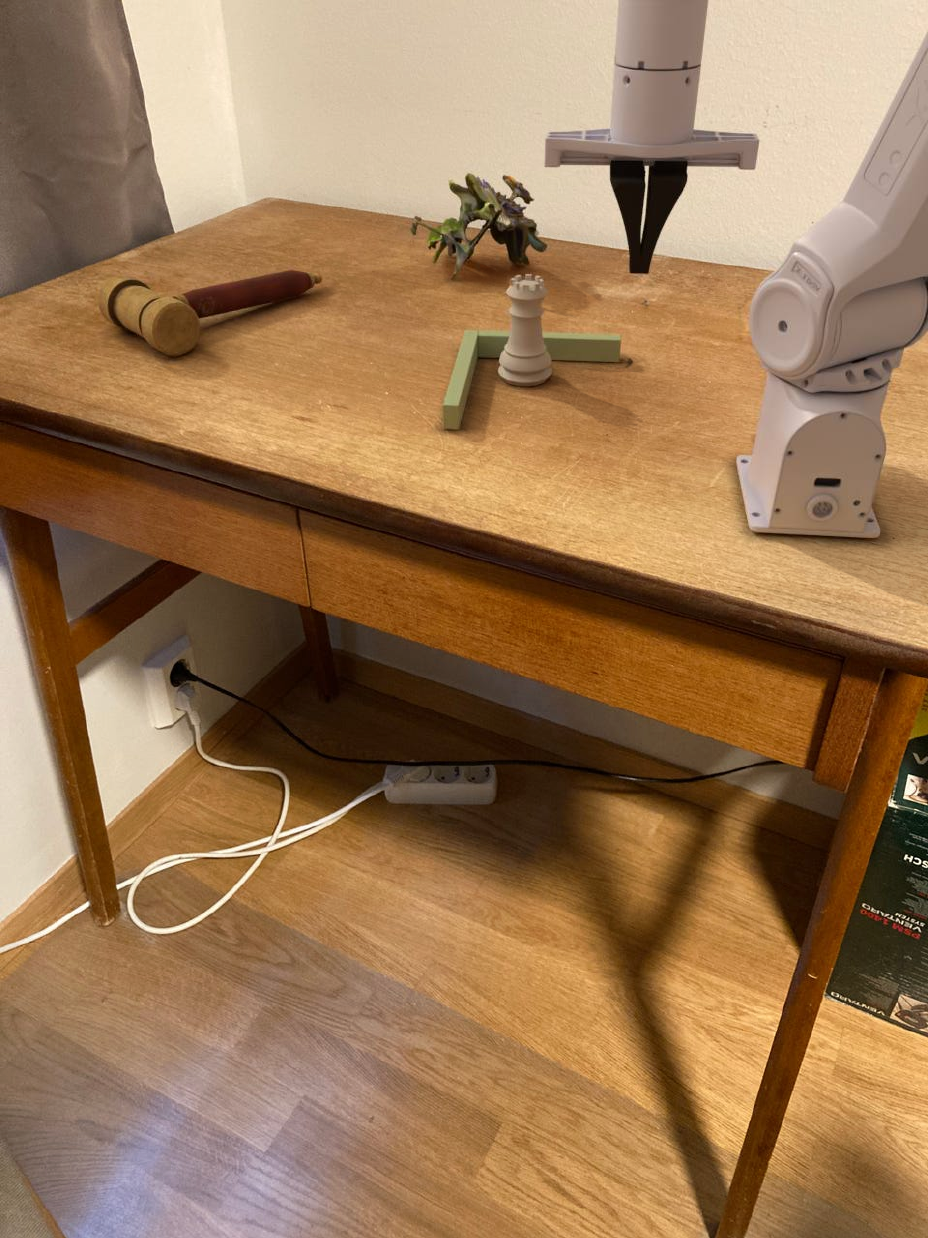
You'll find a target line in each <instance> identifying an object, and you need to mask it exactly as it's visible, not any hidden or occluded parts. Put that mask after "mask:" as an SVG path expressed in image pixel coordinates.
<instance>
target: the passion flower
mask: <svg viewBox="0 0 928 1238" xmlns="http://www.w3.org/2000/svg"><path fill="white" fill-rule="evenodd" d="M464 180H465V185H466V187H464V186H462V185H460V184H458V183H455V181H454V180H453V179H452V178H449V180H448V187H449V190H450V191H451V192H452V193H453V194H454V195H456V196H457V198H459V200H460V204H461V205H460V207H459V216H458V219H456V218H454V217H449V218H445V220H444V221H443V222H442V223H441V224H440V225H436V226H435V227H432V226H429V225H427V224H425V223H423V222H421V221H422V216H421V217H420V216H418V215H415V216H414V217H413V221H412V224H411V228H410V232H411V234H412V235H413V236H416V235H417V229H418V225H419V226H422V227H423V228H426V229H428V230H429V231H430V233H429V234H428V239H427V248H428V250H429V251H431V250H432V249H434V250H435V252H434V254H433V256H432V258H433V264H436V263H437V261H438V259H439V257H440V255H441V254H442V253H443V250H444V249H446V248H447V256H448V257H452V256H453V255H454V256H455V268H454V272H453V274H452V276H451V278H450V280H451V281H454V279H455V278H456V276H457V275H458V273H459V271H460V269H461V268H462V266H463V265H466V263H467V262H468V261H469V260H470V259H471V257H472V256H473V254H474V253H475V247H476V246H477V245H478V244H479V242H480V240H481V239H482V238H483V237H484V235H485V233H486V232H487V231H489V232H490V235H491V238H492V239H493V240H494V241H495V242H496V243H497V244H499V245H500V246H501V245H502V246H503V245H505V247H506V251H507V257H508V260H509V262H511V263H512V264H513V265H514V266H518V267H521V266H523V265H526V266H530V263H531V262H530V260H529V257H528V256H527V249H528V247H529V246H530V247H531V248H532V249H533V250H535V251H536V252H539V253H544V252H545V251H546V250H547V248H548V244H547V243H545V242H544V241H542V240H541V239H540V238H539V237H538V236H539V234H540V232H539V231H538V229H537V226H538V224H537V222H535V220H534V219H533V218H528V217H527V216H525V214H524V212H523V211H524V210H526V209H527V206H521V203H517V202H516V201H515V199H517V198H520V199H522V200H523V203H524V204H527V205H530V204H531V202H534V201H535V198H533V197H532V196H531V194H530V192H529V190H528V189H526V188H524V184H523V182H520V181H516V179H515V178H514V177H513V176H512V175H510V174H509V175H506V174H504V175H502V181H503V182H504V183H505V184H506V185H507V187H509V188H510V190H511V192H512V193H511V194H510V196H509V197H507V194H504V195H502V193H501V192H500V191H497V192H496V191H495V188H494V187H493V186H491V184H490V183H489V182H488V181H486V180H485V178H483V179H482V180H481V178H480V177H479V176H476V175H475V174H473V173H471V172H469V173H468V172H467V174H466V175H465V177H464ZM479 220H480V221H485V223H484V224H483V225H482V226H481V230H480V231H479V232H478V233H477V235H476V236H475V237H474V238H473V239H472V240H471V239H468V238H467V235H466V231H467V228H468V226H469V224H471V223H472V222H475V221H479ZM439 242H440V243H439ZM463 242H464V244H462V243H463ZM437 244H439V246H438V249H437Z"/></svg>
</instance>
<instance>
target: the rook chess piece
mask: <svg viewBox="0 0 928 1238" xmlns="http://www.w3.org/2000/svg"><path fill="white" fill-rule="evenodd" d="M532 278H533V274H532V273H525V278H524V279H522V275H521V274H517V275H514V277H511V279H510V285H509V287H508V288H507V289H506V292H505V293H506V295H507V296H508V298H509V299H510V301H511V306H510V308H509V309H508V313H509V314H510V328H509V331H510V334H509V339H508V343H507V344H506V345H505V347H504V349H505V350H504V351H503V352H502V353H501V355H500V358H498V363H499V364H500V366H499V367H498V369H497V373H498V375H499V376H500V377H501V378H502V380H503V381H504V382H506V383H507V384H509V385H513V386H517V387H533V386H538V385H541V384H543V383H545V382H546V381H547V380H548V379H549V378H550V377H551V375H552V373H553V370H552V368H551V367H550V366H551V365H552V360H551V356H550V354H549V353H548V352H547V351H546V348H547V347H546V345H545V344H544V341H543V335H542V332H543V327H542V325H543V324H542V316H543V315H544V314H545V309H544V307H543V306H542V302H543V300H544V299H545V298H546V297H547V295H548V293H549V290H548V289H547V287H546V286H545V285H544V280H545V279H544V278H542V276H540V275H535V276H534V280H533V279H532Z"/></svg>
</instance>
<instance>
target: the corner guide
mask: <svg viewBox="0 0 928 1238" xmlns="http://www.w3.org/2000/svg"><path fill="white" fill-rule="evenodd" d="M509 334H510V330H486V329H480V330H479V329H465V330H464V333H463V336H462V340H461V342H460V346H459V350H458V352H457V355H456V360H455V363H454V366H453V370H452V372H451V377H450V380H449V383H448V386H447V390H446V393H445V396H444V399H443V403H442V421H443V423H442V426H443V430H455V431H456V430H460V427H461V423H462V420H463V415H464V412H465V409H466V404H467V400H468V396H469V393H470V389H471V385H472V381H473V377H474V373H475V370H476V366H477V361H478V358H483V359H485V358H489V359H500V355H501V353H502V352H503V351H504V350H505V349H504V347H505V345H506V344H507V343H508V339H509ZM542 335H543V341H544V344H545V345H546V347H547V348H546V351H547V352H548V353H549V354H550V356H551V361H571V362H572V361H573V362H596V363H597V362H599V363H620V358H621V349H622V348H621V346H622V335H621V334H611V333H610V334H608V333H577V332H576V333H575V332H574V333H573V332H547V331H546V332H545V331H542Z"/></svg>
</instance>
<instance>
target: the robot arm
mask: <svg viewBox="0 0 928 1238" xmlns="http://www.w3.org/2000/svg"><path fill="white" fill-rule="evenodd" d="M617 2H618V3H617V15H616V32H615V45H614V61H613V62H614V63H613V75H612V77H613V78H612V91H611V92H612V93H611V109H610V121H609V122H610V123H609V128H596V129H584V130H567V131H547V132H546V133H545V138H544V143H545V144H544V168H560V167H561V166H609V183H610V186H611V189H612V192H613V195H614V197H615V199H616V202H617V206H618V208H619V209H618V210H619V212H620V215H621V219H622V223H623V227H624V231H625V235H626V241H627V246H628V247H627V248H628V254H629V258H628V259H629V260H628V261H629V262H628V270H629V274H633V275H635V274H636V275H637V274H639V275H644V274H645V275H648V274H649V273H650V267H651V265H652V259H653V256H654V252H655V249H656V246H657V244H658V241H659V238H660V236H661V233H662V231H663V229H664V227H665V225H666V223H667V220H668V219H669V217H670V215H671V213H672V211H673V209H674V207H675V206H676V204H677V202H678V200H679V199H680V197H681V196H682V194H683V192H684V191H685V188H686V186H687V183H688V177H689V174H688V167H696V168H697V167H700V168H701V167H704V168H705V167H706V168H707V167H709V168H710V167H711V168H713V167H715V168H738V169H739V170H742V171H743V170H745V171H749V170H750V171H751V170H752V171H755V170H756V166H757V160H758V159H757V158H758V153H759V145H760V139H759V137H758V135H757V134H756V133H745V132H730V131H729V132H728V131H727V132H726V131H718V130H717V131H715V130H706V129H695V122H696V121H695V120H696V111H697V103H698V94H699V84H700V77H701V68H702V59H703V52H704V51H703V50H704V44H705V43H704V42H705V32H706V26H707V25H706V24H707V15H708V6H709V0H618V1H617ZM920 43H921V44H920V45H919V47H918V49H917V51H916V53H915V55H914V57H913V60H912V61H911V63H910V65H909V67H908V69H907V71H906V72H905V73H906V74H905V75H904V78H903V79H902V81H901V83H900V85H899V87H898V89H897V91H896V93H895V95H894V97H893V99H892V101H891V103H890V105H889V107H888V109H887V111H886V113H885V115H884V117H883V119H882V121H881V124H879V127H878V129H877V131H876V132H875V133H876V134H875V135H874V137H873V139H872V141H871V143H870V145H869V146H868V149H867V151H866V153H865V155H864V157H863V159H862V161H861V163H860V165H859V167H858V169H857V171H856V173H855V175H854V177H853V179H852V182H851V183H850V184H849V187H848V188H847V191H846V192H845V195H844V197H843V199H842V201H840V203H839V204H838V205H837V206H835V207H834V208H832V209H831V210H830V212H828V213H827V214H825V216H823V217H822V218H821V219H819V220H818V221H817V222H816V223H814V224H813V225H812V226H810V227H809V228H808V229H807V230H806V231H804V232H803V233H802V234H801V235H800V236H798V238H796V239H795V240H794V241H793V243H792V245H791V246H790V249H789V251H788V253H787V255H786V257H785V259H784V261H783V262H782V263H781V264H780V265H779V267H777V269H775V270H773V272H771V273H770V274H768V275H767V276H766V277H764V279H763V280H762V281H761V282H760V284H759V285H758V287H757V288H756V289H755V292H754V295H753V296H752V299H751V303H750V308H749V314H748V315H749V317H748V327H749V335H750V339H751V342H752V346H753V348H754V351H755V354H756V355H757V357H758V359H759V360H760V368H762V369H763V370H765V371H767V373H766V378H765V384H764V389H763V393H762V400H761V404H760V405H761V406H760V409H759V410H760V411H759V416H758V421H757V426H756V432H755V438H754V443H753V448H752V454H739V455H738V456H736V458H735V459H736V460H735V464H736V469H737V473H738V479H739V480H738V481H739V483H740V485H739V486H740V488H741V494H742V499H743V505H744V509H745V514H746V518H747V524H748V528H749V529H750V530H751V532H755V533H768V534H769V533H770V534H786V535H803V536H805V535H806V536H824V537H825V536H826V537H828V536H829V537H843V538H844V537H845V538H864V539H865V538H866V539H876V538H879V537H880V534H881V527H880V525H879V523H878V520H877V518H876V515H875V512H874V510H873V507H872V506H873V502H874V498H875V494H876V491H877V489H878V488H877V487H878V484H879V480H880V478H881V477H880V476H881V473H882V470H883V466H884V463H885V460H886V459H885V458H886V454H887V439H886V433H885V431H884V428H883V427H884V426H883V424H882V418H881V417H882V412H883V408H884V404H885V401H886V397H887V393H888V390H889V386H890V382H891V378H892V374H893V371H894V370H895V369H897V368H900V366H901V362H902V358H903V355H904V352H905V351H904V350H905V349H908V348H909V347H912V346H913V345H915V344H916V343H918V342H919V341H921V339H922V338H923V337H924V336H925V335H926V334H927V332H928V30H927V31H926V33H925V35H924V37H923V39H922V41H921V42H920ZM646 167H648V171H646ZM646 172H647V173H648V174H647V183H646ZM646 187H647V188H646ZM645 195H646V201H645ZM644 203H645V212H644ZM643 213H645V214H644V222H643ZM642 222H643V228H642Z"/></svg>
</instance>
